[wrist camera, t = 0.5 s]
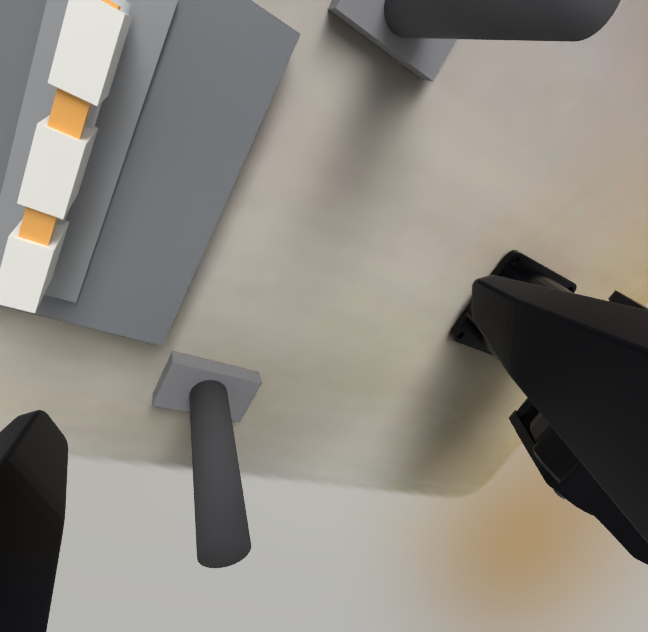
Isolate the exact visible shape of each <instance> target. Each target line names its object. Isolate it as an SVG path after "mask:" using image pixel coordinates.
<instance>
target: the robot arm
mask: <svg viewBox="0 0 648 632" xmlns="http://www.w3.org/2000/svg"><path fill="white" fill-rule="evenodd" d="M515 257H516V258H515ZM514 258H515V260H513V259H514ZM576 288H577V287H576V284H574V283H573V282H571V281H570V280H568V279H566V278H564V277H562V276H561V275H559V274H557V273H555V272H554V271H552V270H550V269H548V268H547V267H545V266H543V265H541V264H540V263H538V262H536V261H534V260H533V259H531V258H529V257H527V256H526V255H524V254H522V253H520V252H518V251H516V250H513V251H510V252H509V253H508V254H507V255H506V256H505V258H504V259H503V260H502V262H501V263H500V264H499V266H498V267H497V269H496V270H495V271H494V273H493V274H492V275H489V276H486V277H483V278H479V279H476V280H475V281H474V282H473V285H472V303H471V304H470V306H469V307H468V308H467V310H466V311H465V312H464V314H463V315H462V317H461V318H460V319H459V321H458V322H457V323H456V325H455V326H454V328H453V329H452V331H451V333H450V335H451V337H452V338H453V339H454V340H455V341H456V342H459V343H461V344H464V345H467V346H469V347H472V348H475V349H477V350H480V351H483V352H485V353H488V354H491V355H494V356H495V357H496V358H497V359H498V360H499V361H500V362H501V363H502V365H503V367H504V368H505V369H506V371H507V372H508V374H509V375H510V376H511V378H512V379H513V380H514V381H515V383H516V384H517V385H518V386H519V388H520V389H521V390H522V391H523V392H524V394H525V395H526V396H527V397H528V398H527V399H526V400H525V402H524V403H523V404H522V405H521V406H520V408H519V409H518V410H517V411H514V412H513V413H512V414H511V416H510V417H509V419H510V421H511V423H512V425H513V426H514V428H515V430H516V432H517V434H518V436H519V438H520V439H521V441H522V443H523V444H524V446H525V448H526V449H527V451H528V453H529V454H530V456H531V458H532V460H533V461H534V463H535V465H536V466H537V468H538V470H539V471H540V473H541V475H542V476H543V478H544V480H545V481H546V483H547V484H548V485H549V486H550V487H552V488H553V489H554V491H555V493H556V494H557V495H558V496H560V497H561V498H563V499H567V500H568V501H569V502H571V503H572V504H573V505H575V506H576V507H578V508H580V509H581V510H583V511H585V512H587V513H589V514H591V515H594V516H595V517H596V518H597V519H598V520H599V521H600V522H601V523H602V524H603V525H604V526H605V527H606V528H607V529H608V530H609V531H610V532H611V534H613V536H614V537H615V538H616V539H617V540H618V541H619V542H620V543H621V544H622V545H623V546H624V547H625V549H626V550H627V551H628V552H629V553H630V554H631V555H632V556H633V557H634V558H636V559H638V560H640V561H642V562H644V563H646V564H648V308H647V307H645V306H643V305H642V304H640V303H638V302H636V301H634V300H632V299H631V298H629V297H627V296H625V295H623V294H621V293H620V292H618V291H616V290H615V291H614V293H613V294H612V295H611V296H610V297H609V301H605V300H600V299H596V298H592V297H587V296H583V295H579V294H574V292H575V290H576ZM459 333H460V334H459ZM67 464H68V444H67V440H66V438H65V436H64V435H63V434H62V432H61V431H60V430H59V428H58V427H57V426H56V424H55V423H54V422H53V421H52V419H51V418H50V417H49V415H48V414H47V413H46V412H44V411H42V410H37V411H33V412H30V413H27V414H23V415H20V416H18V417H16V418H15V419H14V420H13V421H12V422H11V423H10V424H9V425H7V426H6V427H5V428H4V429H3V430H2V431H1V432H0V632H46V629H47V623H48V618H49V611H50V605H51V600H52V599H51V598H52V594H53V588H54V582H55V575H56V569H57V564H58V558H59V551H60V546H61V540H62V534H63V527H64V519H65V506H66V485H67Z"/></svg>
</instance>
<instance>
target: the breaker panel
mask: <svg viewBox="0 0 648 632" xmlns="http://www.w3.org/2000/svg"><path fill="white" fill-rule="evenodd" d="M125 1H127V2H129V3H130V4H132V5H131V8H130V11H129V16H131V17H132V20H131V23H130V27H129V30H128V33H127V36H126V40H125V43H124V46H123V49H122V53H121V56H120V59H119V62H118V66H117V69H116V72H115V75H114V79H113V82H112V85H111V88H110V92H109V95H108V96H107V97H106V98H105V99H104V100H103V101H102V104H101V107H100V110H99V113H98V117H97V120H96V123H95V127H97V128H98V131H97V134H96V137H95V140H94V144H93V147H92V150H91V153H90V157H89V160H88V163H87V166H86V170H85V173H84V176H83V180H82V183H81V186H80V189H79V193H78V195H77V197H76V198H75V200H74V202H73V204H72V205H71V207H70V209H69V212H68V215H67V219H66V221H69V225H68V228H67V232H66V235H65V238H64V241H63V245H62V248H61V251H60V254H59V258H58V261H57V264H56V267H55V271H54V274H53V277H52V279H51V281H50V284H49V286H48V288H47V290H46V292H45V294H44V296H43V298H42V300H41V302H40V304H39V306H38V308H37V310H36V312H35V313H32V314H36V315H40V316H44V317H48V318H52V319H56V320H60V321H64V322H68V323H72V324H76V325H80V326H84V327H88V328H92V329H96V330H100V331H104V332H108V333H112V334H116V335H120V336H124V337H128V338H132V339H136V340H140V341H144V342H148V343H152V344H156V345H160V346H163V344H164V341H165V339H166V337H167V335H168V332H169V330H170V328H171V326H172V323H173V321H174V319H175V317H176V314H177V312H178V310H179V308H180V305H181V303H182V301H183V299H184V296H185V294H186V292H187V290H188V287H189V285H190V283H191V280H192V278H193V276H194V274H195V271H196V269H197V267H198V265H199V262H200V260H201V258H202V256H203V253H204V251H205V249H206V247H207V244H208V242H209V240H210V238H211V235H212V233H213V231H214V229H215V226H216V224H217V222H218V219H219V217H220V215H221V213H222V210H223V208H224V206H225V204H226V201H227V199H228V197H229V195H230V192H231V190H232V188H233V186H234V183H235V181H236V179H237V177H238V174H239V172H240V170H241V168H242V165H243V163H244V161H245V158H246V156H247V154H248V152H249V149H250V147H251V145H252V143H253V140H254V138H255V136H256V134H257V131H258V129H259V127H260V125H261V122H262V120H263V118H264V116H265V113H266V111H267V109H268V107H269V104H270V102H271V100H272V97H273V95H274V93H275V91H276V88H277V86H278V84H279V82H280V79H281V77H282V75H283V73H284V70H285V68H286V66H287V64H288V61H289V59H290V57H291V55H292V52H293V50H294V48H295V46H296V43H297V41H298V39H299V36H300V33H298V32H297V31H295V30H294V29H292V28H291V27H289V26H288V25H286V24H285V23H284V22H282V21H281V20H279V19H278V18H276V17H275V16H273V15H272V14H270V13H269V12H267V11H266V10H265V9H263V8H262V7H260V6H259V5H257V4H256V3H254V2H253V1H251V0H125ZM67 4H68V0H0V267H1V263H2V259H3V255H4V252H5V248H6V244H7V240H8V236H9V235H10V234H11V233H12V231H13V230H14V229H15V228H16V226H17V225H18V224H19V223H20V221H21V220H22V219H23V216H24V212H25V208H26V206H23V205H20V204H17V201H18V197H19V193H20V189H21V185H22V181H23V177H24V173H25V169H26V165H27V161H28V157H29V153H30V150H31V146H32V142H33V138H34V134H35V130H36V126H37V123H39V122H40V121H41V120H43V119H44V118H46V117H47V116H49V115H50V114H51V110H52V106H53V102H54V98H55V95H56V91H57V87H55V86H53V85H51V84H49V83H48V79H49V75H50V71H51V67H52V63H53V59H54V55H55V51H56V48H57V44H58V40H59V36H60V32H61V28H62V24H63V20H64V16H65V12H66V8H67ZM0 306H4V305H0ZM4 307H8V306H4ZM8 308H11V307H8ZM12 309H15V308H12ZM16 310H19V309H16ZM20 311H23V310H20ZM24 312H27V311H24ZM28 313H31V312H28Z"/></svg>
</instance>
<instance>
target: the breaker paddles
mask: <svg viewBox="0 0 648 632" xmlns="http://www.w3.org/2000/svg"><path fill="white" fill-rule="evenodd" d="M131 5H132V4H130V3H129V2H127V1H125V0H68V4H67V8H66V12H65V16H64V20H63V24H62V28H61V32H60V36H59V40H58V44H57V48H56V51H55V55H54V59H53V63H52V67H51V71H50V75H49V79H48V83H49V84H51V85H53V86H55V87H57V91H56V95H55V98H54V102H53V106H52V110H51V114H50V115H49V116H47V117H46V118H44V119H43V120H41V121H40V122H39V123H37V126H36V130H35V134H34V138H33V142H32V146H31V150H30V153H29V157H28V161H27V165H26V169H25V173H24V177H23V181H22V185H21V189H20V193H19V197H18V201H17V204H20V205H23V206H26V208H25V212H24V216H23V219H22V220H21V221H20V223H19V224H18V225H17V226H16V228H15V229H14V230H13V231H12V233H11V234H10V235H9V236H8V240H7V244H6V248H5V252H4V255H3V259H2V263H1V267H0V305H4V306H8V307H11V308H15V309H19V310H23V311H27V312H31V313H35V312H36V310H37V308H38V306H39V304H40V302H41V300H42V298H43V296H44V294H45V292H46V290H47V288H48V286H49V284H50V281H51V279H52V277H53V274H54V271H55V267H56V264H57V261H58V258H59V254H60V251H61V248H62V245H63V241H64V238H65V235H66V232H67V228H68V225H69V221H66V219H67V215H68V212H69V209H70V207H71V205H72V204H73V202H74V200H75V198H76V197H77V195H78V193H79V189H80V186H81V183H82V180H83V176H84V173H85V170H86V166H87V163H88V160H89V157H90V153H91V150H92V147H93V144H94V140H95V137H96V134H97V131H98V128H97V127H95V123H96V120H97V117H98V113H99V110H100V107H101V104H102V101H103V100H104V99H105V98H106V97H107V96H108V95H109V92H110V88H111V85H112V82H113V79H114V75H115V72H116V69H117V66H118V62H119V59H120V56H121V53H122V49H123V46H124V43H125V40H126V36H127V33H128V30H129V27H130V23H131V20H132V17H131V16H129V11H130V8H131Z"/></svg>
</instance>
